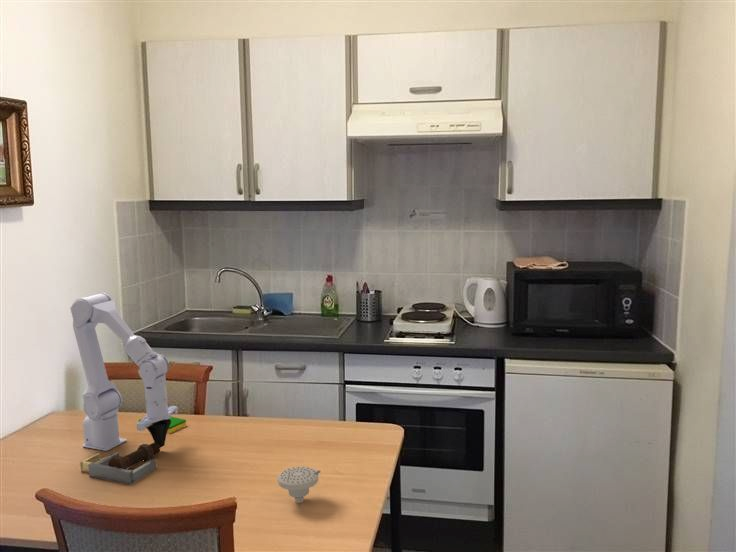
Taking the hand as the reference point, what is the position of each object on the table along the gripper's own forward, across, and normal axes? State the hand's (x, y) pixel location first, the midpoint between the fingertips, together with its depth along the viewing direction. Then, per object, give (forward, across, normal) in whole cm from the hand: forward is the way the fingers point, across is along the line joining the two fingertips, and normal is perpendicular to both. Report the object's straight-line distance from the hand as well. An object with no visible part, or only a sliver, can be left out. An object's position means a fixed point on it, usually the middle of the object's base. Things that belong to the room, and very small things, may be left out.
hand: (160, 445), depth 184 cm
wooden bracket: (+2, -14, +9) cm, 17 cm away
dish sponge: (+2, +16, +13) cm, 20 cm away
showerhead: (+2, -12, -52) cm, 53 cm away
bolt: (+2, -9, 0) cm, 9 cm away
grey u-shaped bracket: (+2, -14, 0) cm, 14 cm away
